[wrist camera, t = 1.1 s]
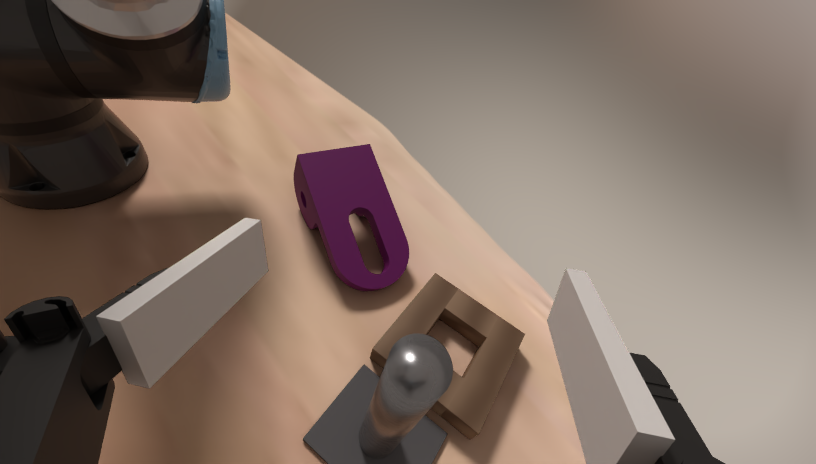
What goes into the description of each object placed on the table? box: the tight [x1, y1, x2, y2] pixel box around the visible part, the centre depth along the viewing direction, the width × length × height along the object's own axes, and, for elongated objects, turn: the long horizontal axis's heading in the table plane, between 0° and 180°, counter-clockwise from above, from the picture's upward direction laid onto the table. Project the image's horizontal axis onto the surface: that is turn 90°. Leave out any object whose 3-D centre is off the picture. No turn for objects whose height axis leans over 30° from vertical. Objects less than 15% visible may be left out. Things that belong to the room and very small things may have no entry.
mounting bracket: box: [294, 144, 409, 291], centre depth 43 cm, size 9×8×18 cm
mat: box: [303, 365, 447, 464], centre depth 29 cm, size 10×8×1 cm
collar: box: [370, 273, 525, 440], centre depth 35 cm, size 12×12×2 cm
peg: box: [359, 333, 453, 459], centre depth 23 cm, size 3×3×17 cm
